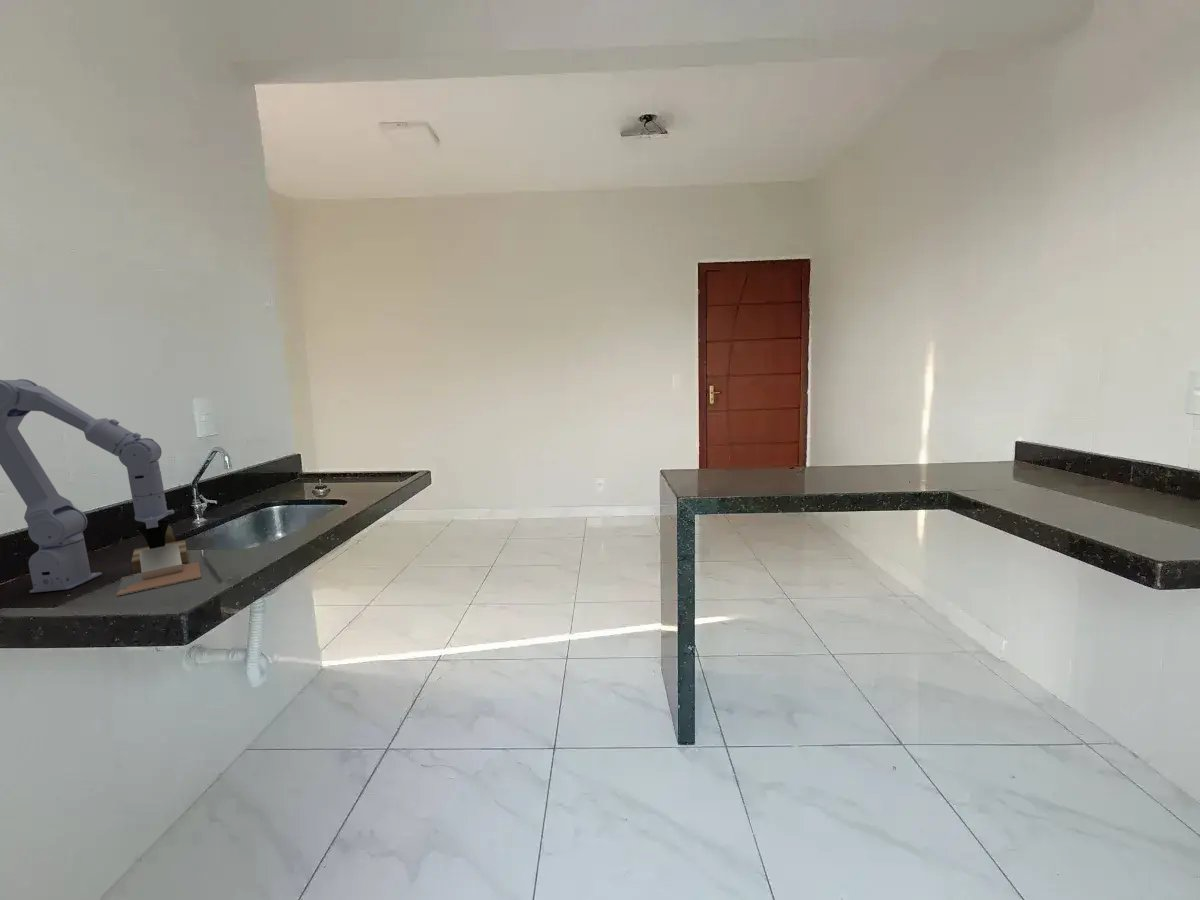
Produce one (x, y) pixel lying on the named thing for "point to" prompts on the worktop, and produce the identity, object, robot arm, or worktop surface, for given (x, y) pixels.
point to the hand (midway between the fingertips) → (158, 553)
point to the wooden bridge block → (136, 558)
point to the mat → (165, 579)
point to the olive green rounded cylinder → (169, 535)
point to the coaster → (160, 561)
